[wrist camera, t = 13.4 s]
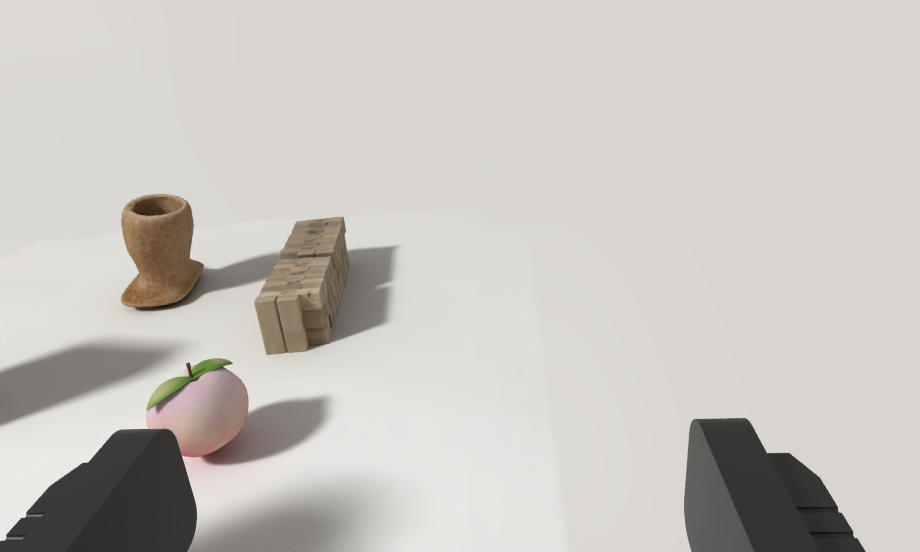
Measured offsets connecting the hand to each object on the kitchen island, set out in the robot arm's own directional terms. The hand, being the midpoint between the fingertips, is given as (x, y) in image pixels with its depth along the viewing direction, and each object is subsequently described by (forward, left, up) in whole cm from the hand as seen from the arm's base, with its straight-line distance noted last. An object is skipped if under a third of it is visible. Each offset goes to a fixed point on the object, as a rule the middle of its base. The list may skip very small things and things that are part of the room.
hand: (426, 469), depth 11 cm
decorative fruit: (-52, -10, -34) cm, 63 cm away
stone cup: (-97, -16, -34) cm, 104 cm away
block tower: (-82, +4, -34) cm, 89 cm away
